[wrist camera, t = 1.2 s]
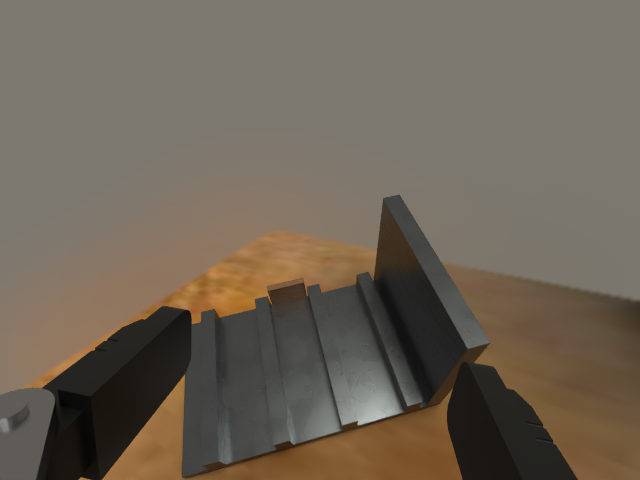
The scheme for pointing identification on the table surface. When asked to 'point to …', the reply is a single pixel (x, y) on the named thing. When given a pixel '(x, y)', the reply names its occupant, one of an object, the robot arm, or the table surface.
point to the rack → (328, 354)
